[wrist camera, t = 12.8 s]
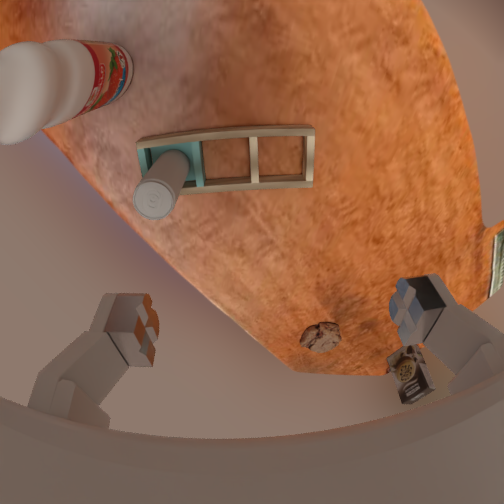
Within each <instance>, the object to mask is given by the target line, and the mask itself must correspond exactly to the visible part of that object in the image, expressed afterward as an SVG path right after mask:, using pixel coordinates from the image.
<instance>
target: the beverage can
mask: <svg viewBox="0 0 504 504" xmlns="http://www.w3.org/2000/svg"><path fill="white" fill-rule="evenodd" d="M189 170H190V161H189V159H188V157H187V156H186V155H185V154H184V153H183V152H181V151H179V150H168V151H165V152H164V153H163V154H161V156H160V157H159V158H158V159H157V160H156V162H155V163H154V164H153V165H152V167H151V168H150V169H149V171H148V172H147V173H146V174H145V176H144V177H143V178H142V180H141V181H140V182H139V184H138V185H137V187H136V188H135V191H134V195H133V204H134V207H135V209H136V211H137V212H138V213H139V214H140V215H141V216H143V217H144V218H147V219H149V220H160V219H163V218H165V217H166V216H168V215H169V213H170V212H171V211H172V210H173V208H174V206H175V204H176V201H177V199H178V196H179V194H180V192H181V189H182V187H183V184H184V182H185V180H186V177H187V175H188V173H189Z"/></svg>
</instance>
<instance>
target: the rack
mask: <svg viewBox="0 0 504 504" xmlns="http://www.w3.org/2000/svg"><path fill="white" fill-rule="evenodd" d="M267 136H303V171H302V175H272V176H259V170H258V143H257V137H267ZM245 137H249V149H250V170H251V177H235V178H221V179H208V180H206V177H205V169H204V160H203V151H202V142H201V141H206V140H217V139H229V138H245ZM136 147H137V152H138V157H139V163H140V168H141V173H142V177H144V176H145V174H146V173H147V172H148V171H149V169H150V168H151V167H152V165H153V164H154V163H155V162H156V160H157V159H158V158H159V157H160V156H161V154H163V153H164V152H165V151H168V150H179V151H181V152H183V153H184V154H185V155H186V156H187V157H188V159H189V161H190V170H189V173H188V175H187V177H186V180H185V181H186V182H184V184H183V187H182V189H181V192H180V194H179V195H188V194H199V193H212V192H225V191H240V190H258V189H279V188H311V187H313V171H314V147H315V128H314V127H312V126H311V125H264V126H242V127H227V128H215V129H204V130H195V131H186V132H178V133H171V134H164V135H157V136H151V137H145V138H141V139H140V140H138V141H137V142H136ZM150 149H151V152H150ZM151 155H152V158H151ZM152 161H153V164H152ZM192 180H196V181H192Z"/></svg>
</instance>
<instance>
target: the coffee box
mask: <svg viewBox="0 0 504 504" xmlns="http://www.w3.org/2000/svg"><path fill="white" fill-rule="evenodd" d="M387 361H388V364H389V366H390V369H391V372H392V375H393V378H394V381H395V384H396V387H397V390H398V393H399V396H400V399H401V402H402V404H412V403H414V402H416V401H418V400H419V399H421V398H422V397H424V396H426V395H427V394H429V393H431V392H432V391H434V390H435V386H434V384H433V381H432V379H431V376H430V373H429V371H428V368H427V366H426V363H425V361H424V358H423V356H422V354H421V351H420V349H419V347H418V345H416V344H414V345H409V346H403V347H402V348H400V349H399V350H397V351H396V352H395V353H393V354H392V355H391V356H389V357H388V358H387Z"/></svg>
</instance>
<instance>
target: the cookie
mask: <svg viewBox="0 0 504 504" xmlns="http://www.w3.org/2000/svg"><path fill="white" fill-rule="evenodd" d="M339 330H340V329H339V326H338V325H336V324H332V323H324V322H323V323H321V322H320V323H319V324H318V325H313V326H311V327H308V328H307V329H306V330H305V332H304V333H303V335H302V337H301V341H300V344H301V346H302V347H306V348H309V349H310V350H312V351H315V352H318V353H322V352H327V351H329V350H332V349H333V348H335V347H336V346H337V345H338V344H339V342H340V341H341V336H340V331H339Z"/></svg>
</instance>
